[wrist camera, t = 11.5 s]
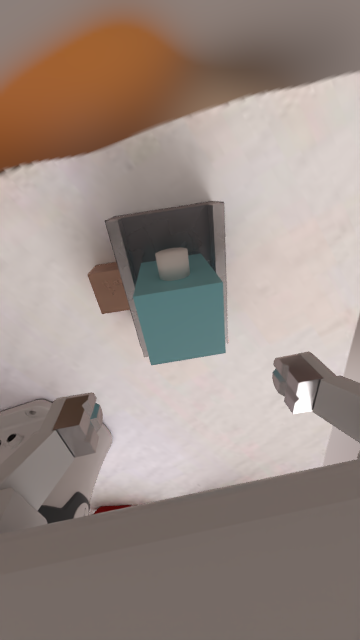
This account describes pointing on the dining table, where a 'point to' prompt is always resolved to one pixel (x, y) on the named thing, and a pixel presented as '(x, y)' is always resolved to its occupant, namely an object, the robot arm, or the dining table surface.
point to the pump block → (180, 307)
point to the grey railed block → (151, 237)
